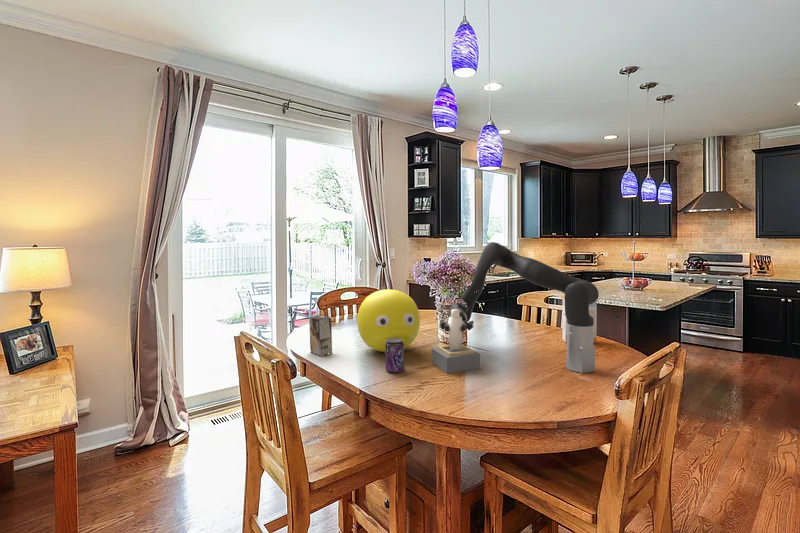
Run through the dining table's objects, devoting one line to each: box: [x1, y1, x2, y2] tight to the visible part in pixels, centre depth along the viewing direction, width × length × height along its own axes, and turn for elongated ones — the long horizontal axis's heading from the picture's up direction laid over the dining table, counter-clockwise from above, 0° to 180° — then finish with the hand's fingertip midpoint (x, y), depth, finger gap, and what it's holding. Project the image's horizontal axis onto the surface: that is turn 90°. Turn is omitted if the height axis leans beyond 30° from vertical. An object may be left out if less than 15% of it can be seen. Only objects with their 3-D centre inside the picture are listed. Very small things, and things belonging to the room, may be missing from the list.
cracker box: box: [562, 297, 598, 344], centre depth 198 cm, size 14×6×21 cm, turn 84°
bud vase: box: [448, 309, 463, 350], centre depth 165 cm, size 5×5×15 cm
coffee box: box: [308, 314, 333, 356], centre depth 186 cm, size 9×6×16 cm
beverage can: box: [384, 338, 405, 373], centre depth 160 cm, size 7×7×12 cm
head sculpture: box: [356, 288, 421, 353], centre depth 187 cm, size 28×28×28 cm
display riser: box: [431, 344, 481, 374], centre depth 165 cm, size 14×14×7 cm
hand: (454, 329), depth 162 cm, fingers closed on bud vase, 5 cm apart
